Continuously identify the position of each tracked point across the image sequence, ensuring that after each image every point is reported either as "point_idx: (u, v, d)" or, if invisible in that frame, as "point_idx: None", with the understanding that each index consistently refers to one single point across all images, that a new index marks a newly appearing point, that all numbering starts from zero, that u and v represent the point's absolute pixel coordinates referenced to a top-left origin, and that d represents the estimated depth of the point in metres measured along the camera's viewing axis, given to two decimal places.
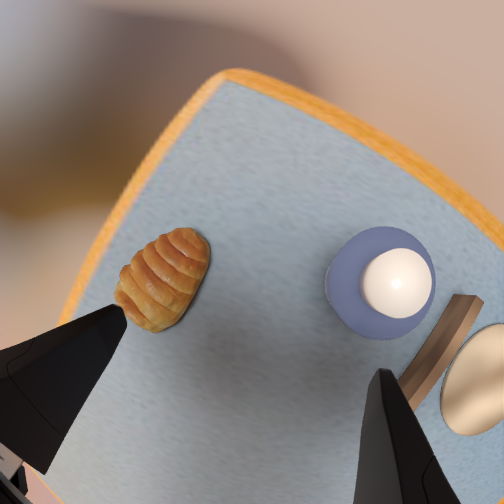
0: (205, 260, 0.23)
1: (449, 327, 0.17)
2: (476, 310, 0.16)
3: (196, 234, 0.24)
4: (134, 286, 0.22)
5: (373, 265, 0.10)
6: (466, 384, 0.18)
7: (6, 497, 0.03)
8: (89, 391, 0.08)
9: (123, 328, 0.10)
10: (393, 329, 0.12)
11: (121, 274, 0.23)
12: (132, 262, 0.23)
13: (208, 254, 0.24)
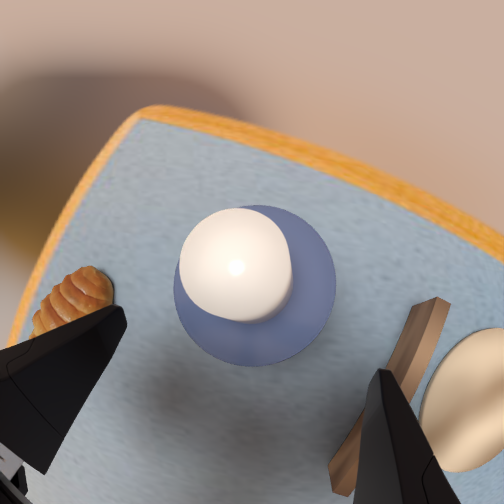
0: (105, 298, 0.19)
1: (409, 346, 0.14)
2: (441, 316, 0.13)
3: (96, 271, 0.20)
4: (41, 328, 0.17)
5: (188, 241, 0.07)
6: (451, 413, 0.13)
7: (6, 497, 0.03)
8: (89, 391, 0.08)
9: (123, 328, 0.10)
10: (273, 348, 0.08)
11: (33, 318, 0.18)
12: (41, 304, 0.18)
13: (110, 292, 0.20)
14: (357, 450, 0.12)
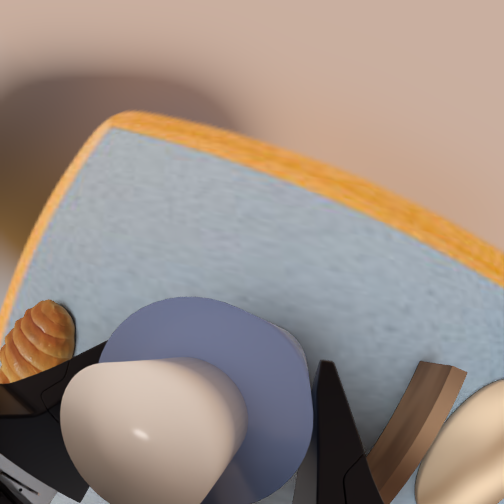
0: (64, 336, 0.16)
1: (412, 418, 0.10)
2: (454, 388, 0.09)
3: (55, 306, 0.17)
4: (6, 365, 0.14)
5: None
6: (452, 473, 0.10)
7: (6, 497, 0.03)
8: None
9: None
10: (220, 495, 0.05)
11: (0, 353, 0.15)
12: (5, 340, 0.15)
13: (71, 329, 0.17)
14: None
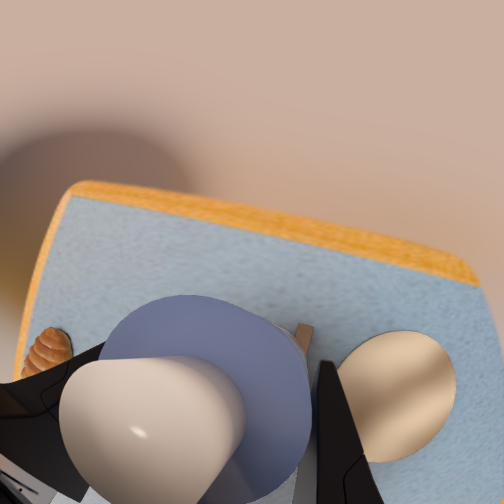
0: (64, 348, 0.23)
1: None
2: (305, 338, 0.18)
3: (55, 330, 0.24)
4: None
5: (66, 394, 0.03)
6: (356, 412, 0.18)
7: (6, 497, 0.03)
8: None
9: None
10: (219, 494, 0.05)
11: (21, 374, 0.21)
12: (24, 363, 0.22)
13: (68, 343, 0.24)
14: None
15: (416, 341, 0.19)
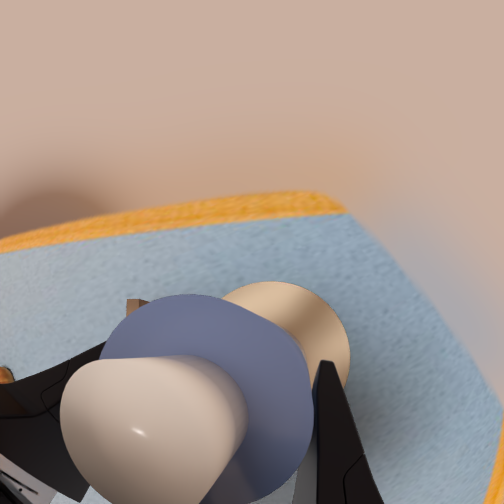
0: (7, 379, 0.21)
1: None
2: None
3: None
4: None
5: (67, 393, 0.03)
6: None
7: (6, 497, 0.03)
8: None
9: None
10: (220, 494, 0.05)
11: None
12: None
13: (9, 375, 0.22)
14: None
15: (271, 291, 0.20)
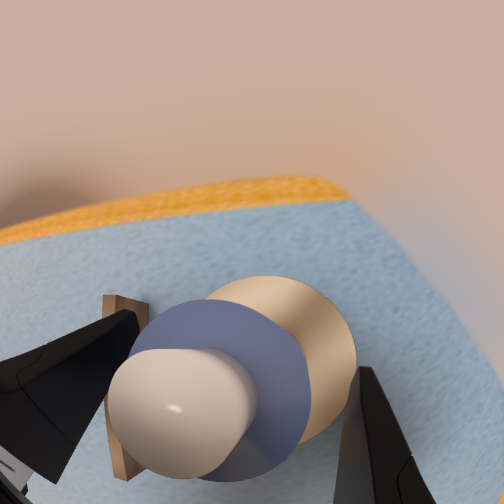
0: None
1: None
2: (110, 309, 0.15)
3: None
4: None
5: (115, 379, 0.05)
6: None
7: (6, 497, 0.03)
8: (102, 398, 0.08)
9: (136, 333, 0.10)
10: (233, 468, 0.06)
11: None
12: None
13: None
14: None
15: (265, 287, 0.17)
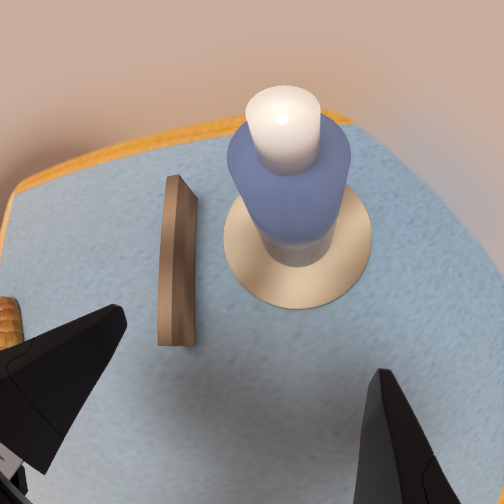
0: (12, 306, 0.24)
1: None
2: (174, 185, 0.20)
3: (4, 297, 0.24)
4: None
5: (250, 103, 0.10)
6: (258, 253, 0.21)
7: (6, 497, 0.03)
8: (89, 391, 0.08)
9: (123, 328, 0.10)
10: (308, 191, 0.11)
11: None
12: None
13: (15, 303, 0.25)
14: None
15: None
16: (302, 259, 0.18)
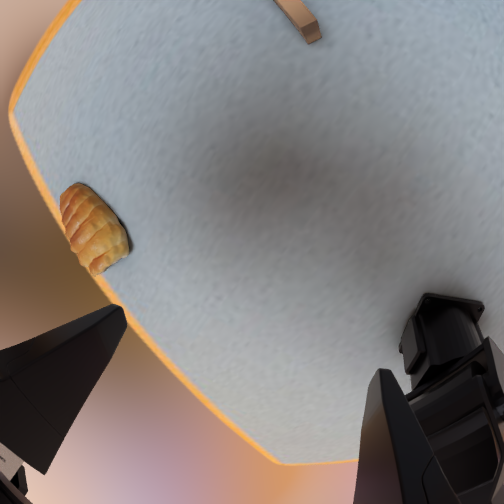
0: (77, 188, 0.23)
1: None
2: None
3: (64, 192, 0.24)
4: (82, 254, 0.24)
5: None
6: None
7: (6, 497, 0.03)
8: (89, 391, 0.08)
9: (123, 328, 0.10)
10: None
11: (80, 263, 0.25)
12: (72, 250, 0.25)
13: (79, 185, 0.24)
14: None
15: None
16: None
